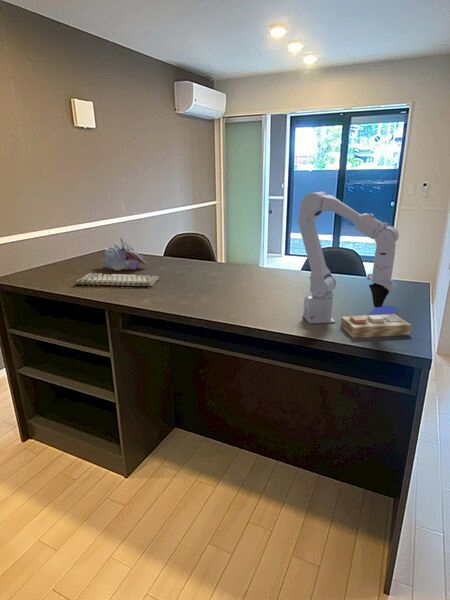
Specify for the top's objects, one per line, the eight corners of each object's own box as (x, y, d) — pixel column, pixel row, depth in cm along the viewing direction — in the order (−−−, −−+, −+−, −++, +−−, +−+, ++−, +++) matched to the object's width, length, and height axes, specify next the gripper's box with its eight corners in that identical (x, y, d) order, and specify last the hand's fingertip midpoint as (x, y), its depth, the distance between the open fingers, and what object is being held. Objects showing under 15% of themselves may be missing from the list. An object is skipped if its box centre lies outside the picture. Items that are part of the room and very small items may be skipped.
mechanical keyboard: (161, 279, 193) (160, 272, 192) (151, 290, 175) (151, 283, 174) (88, 278, 196) (87, 271, 195) (71, 289, 178) (70, 282, 177)
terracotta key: (354, 325, 124) (355, 320, 124) (350, 321, 128) (350, 316, 127) (365, 325, 125) (366, 319, 124) (360, 321, 128) (360, 315, 127)
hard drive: (393, 317, 137) (398, 307, 147) (369, 313, 141) (375, 303, 151) (392, 321, 137) (397, 311, 147) (368, 317, 141) (375, 307, 151)
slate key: (389, 327, 126) (390, 321, 125) (383, 323, 129) (384, 317, 129) (399, 326, 126) (400, 321, 126) (393, 322, 130) (394, 317, 129)
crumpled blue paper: (101, 257, 219) (99, 232, 206) (138, 252, 228) (139, 228, 215) (109, 282, 207) (108, 258, 195) (148, 276, 216) (150, 252, 203)
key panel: (353, 337, 122) (354, 327, 121) (340, 326, 131) (341, 316, 130) (409, 334, 124) (411, 324, 123) (392, 323, 134) (394, 314, 132)
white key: (372, 325, 125) (373, 319, 124) (367, 321, 128) (367, 315, 128) (382, 324, 125) (383, 318, 125) (377, 320, 129) (378, 314, 128)
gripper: (408, 271, 115) (401, 313, 119) (383, 260, 128) (378, 299, 133) (386, 271, 114) (380, 314, 118) (363, 261, 127) (358, 300, 132)
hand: (377, 306), depth 125 cm, fingers closed
